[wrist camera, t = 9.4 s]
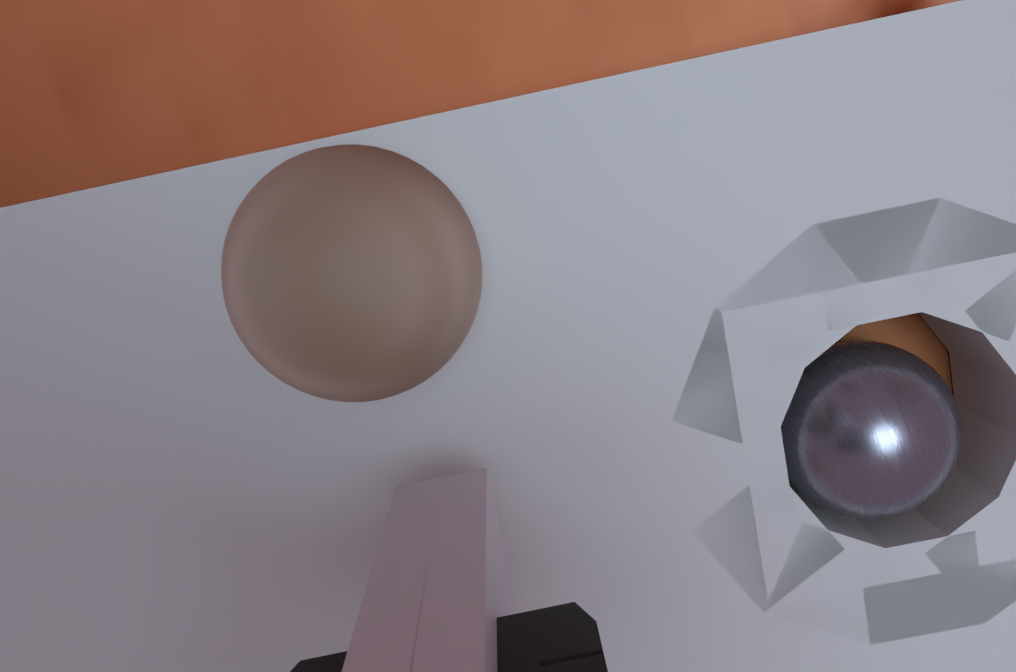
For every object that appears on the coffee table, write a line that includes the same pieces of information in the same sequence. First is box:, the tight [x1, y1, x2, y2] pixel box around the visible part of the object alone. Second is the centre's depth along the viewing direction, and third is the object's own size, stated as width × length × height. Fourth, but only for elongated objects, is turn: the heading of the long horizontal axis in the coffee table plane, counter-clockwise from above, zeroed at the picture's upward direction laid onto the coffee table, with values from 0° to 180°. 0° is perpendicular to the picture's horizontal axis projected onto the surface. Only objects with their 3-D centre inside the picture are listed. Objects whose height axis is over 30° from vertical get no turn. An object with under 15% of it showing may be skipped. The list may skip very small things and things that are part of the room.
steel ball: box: [781, 341, 963, 519], centre depth 16 cm, size 4×4×4 cm
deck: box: [0, 0, 1016, 672], centre depth 17 cm, size 26×15×2 cm, turn 102°
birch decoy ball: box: [221, 144, 482, 402], centre depth 13 cm, size 4×4×4 cm
